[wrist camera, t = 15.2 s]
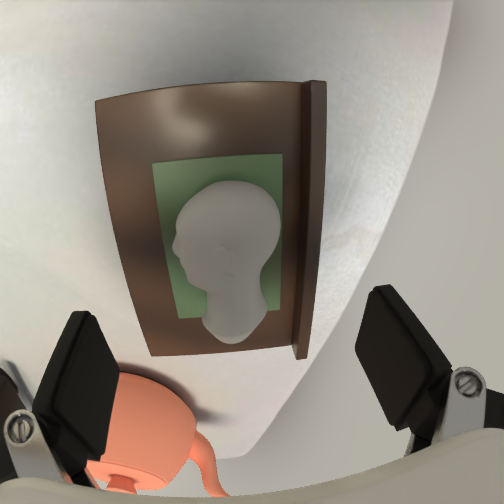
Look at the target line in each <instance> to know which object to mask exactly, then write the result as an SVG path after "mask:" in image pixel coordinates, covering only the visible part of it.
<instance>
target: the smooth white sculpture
mask: <svg viewBox="0 0 504 504" xmlns="http://www.w3.org/2000/svg"><path fill="white" fill-rule="evenodd" d="M280 228H281V222H280V214H279V211H278V208H277V205H276V203H275V201H274V200H273V198H272V197H271V196H270V195H269V193H267V192H266V191H265V190H264V189H262V188H261V187H259V186H257V185H255V184H252V183H248V182H243V181H220V182H216V183H213V184H211V185H209V186H207V187H206V188H204V189H203V190H201V191H200V192H198V193H197V194H195V195H194V196H193V197H192V198H191V199H190V200H189V201H188V202H187V203H186V204H185V205H184V207H183V208H182V210H181V211H180V213H179V215H178V218H177V221H176V232H177V233H176V236H175V239H174V242H173V245H172V249H173V252H174V253H175V255H177V256H178V257H179V258H180V263H181V265H182V267H183V268H184V270H185V273H186V275H187V280H188V281H189V283H190V284H192V285H194V286H195V287H198V288H200V289H202V290H205V291H207V306H208V308H207V309H206V310H205V312H204V314H203V316H202V322H203V325H204V326H205V328H206V329H207V330H208V331H209V332H211V333H212V334H213V335H214V336H215V337H216V338H217V339H218V340H220V341H222V342H224V343H227V344H235V343H239V342H241V341H243V340H244V339H246V338H247V337H248V336H249V335H250V334H251V333H252V332H253V330H254V329H255V328H256V327H257V326H258V325H259V323H260V322H261V321H262V320H263V318H264V317H265V315H266V312H267V303H266V300H265V298H264V297H263V295H262V292H261V287H260V272H261V269H262V267H263V265H264V264H265V263H266V261H267V260H268V259H269V257H270V256H271V254H272V253H273V251H274V249H275V247H276V245H277V242H278V239H279V235H280Z"/></svg>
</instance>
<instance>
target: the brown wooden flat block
mask: <svg viewBox="0 0 504 504" xmlns="http://www.w3.org/2000/svg"><path fill="white" fill-rule="evenodd" d="M95 112H96V124H97V133H98V142H99V150H100V158H101V165H102V171H103V178H104V184H105V190H106V195H107V201H108V206H109V211H110V216H111V220H112V225H113V230H114V234H115V238H116V243H117V247H118V251H119V255H120V259H121V263H122V267H123V270H124V274H125V278H126V281H127V285H128V288H129V292H130V295H131V298H132V301H133V305H134V308H135V311H136V314H137V317H138V320H139V323H140V326H141V329H142V332H143V335H144V338H145V341H146V343H147V346H148V349H149V352H150V354H151V356H179V355H198V354H212V353H225V352H236V351H246V350H256V349H264V348H273V347H280V346H288V345H292V348H293V351H294V355H295V358H296V360H300V359H306V358H307V354H308V348H309V341H310V333H311V326H312V318H313V311H314V302H315V294H316V285H317V275H318V266H319V255H320V244H321V232H322V218H323V203H324V185H325V163H326V126H327V83H326V81H319V80H309V81H305V82H286V81H239V82H218V83H204V84H192V85H183V86H174V87H166V88H159V89H152V90H146V91H140V92H135V93H129V94H124V95H119V96H114V97H110V98H105V99H101V100H97V101H95ZM220 181H243V182H248V183H252V184H255V185H257V186H259V187H261V188H262V189H264V190H265V191H266V192H267V193H269V195H270V196H271V197H272V198H273V200H274V201H275V203H276V205H277V208H278V211H279V214H280V222H281V228H280V235H279V239H278V242H277V245H276V247H275V249H274V251H273V253H272V254H271V256H270V257H269V259H268V260H267V261H266V263H265V264H264V265H263V267H262V269H261V272H260V287H261V292H262V295H263V297H264V298H265V300H266V303H267V312H266V315H265V317H264V318H263V320H262V321H261V322H260V323H259V325H258V326H257V327H256V328H255V329H254V330H253V332H252V333H251V334H250V335H249V336H248V337H247V338H246V339H244V340H243V341H241V342H239V343H235V344H227V343H224V342H222V341H220V340H218V339H217V338H216V337H215V336H214V335H213V334H212V333H211V332H209V331H208V330H207V329H206V328H205V326H204V325H203V322H202V316H203V314H204V312H205V310H206V309H207V308H208V306H207V291H205V290H202V289H200V288H198V287H195V286H194V285H192V284H190V283H189V281H188V280H187V275H186V273H185V270H184V268H183V267H182V265H181V263H180V258H179V257H178V256H177V255H175V253H174V252H173V249H172V245H173V242H174V239H175V236H176V233H177V232H176V221H177V218H178V215H179V213H180V211H181V210H182V208H183V207H184V205H185V204H186V203H187V202H188V201H189V200H190V199H191V198H192V197H193V196H194V195H195V194H197V193H198V192H200V191H201V190H203V189H204V188H206V187H207V186H209V185H211V184H213V183H216V182H220Z"/></svg>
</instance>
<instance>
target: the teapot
mask: <svg viewBox="0 0 504 504" xmlns="http://www.w3.org/2000/svg"><path fill="white" fill-rule="evenodd" d="M188 458H190V459H191V460H193V461H194V462H195V463H196V464H197V465H198V466H199V468H200V470H201V474H202V480H203V484H204V487H205V489H206V491H207V492H208V493H209V494H210V495H211V496H212V497H230V495H228V494H227V493H226V492H225V491H224V490H223V488H222V487H221V485H220V483H219V480H218V475H217V467H216V459H215V454H214V451H213V448H212V446H211V444H210V442H209V441H208V440H207V439H206V438H205V437H204V436H203V435H202V434H200V433H199V432H198V431H196V420H195V417H194V415H193V413H192V411H191V410H190V409H189V407H188V406H187V405H186V404H185V403H184V402H183V401H182V400H181V399H180V398H179V397H178V396H177V395H175V394H174V393H173V392H172V391H171V390H169V389H168V388H166V387H165V386H163V385H161V384H159V383H157V382H155V381H152V380H150V379H147V378H144V377H141V376H137V375H134V374H129V373H123V372H120V375H119V380H118V385H117V389H116V394H115V399H114V404H113V409H112V415H111V420H110V426H109V432H108V438H107V444H106V450H105V453H104V455H101V459H100V462H97V461H92V460H87V466H86V467H87V469H88V470H89V472H90V473H91V475H92V477H94V478H97V479H99V480H101V481H104V482H106V483H108V485H107V488H106V489H107V490H108V491H114V492H122V493H129V494H137V493H136V489H137V490H157V489H161V488H163V487H165V486H167V485H168V484H169V482H170V481H172V480H173V478H174V477H175V476H176V474H177V473H178V472H179V471H180V469H181V468H182V466H183V465H184V464H185V462H186V461H187V459H188Z"/></svg>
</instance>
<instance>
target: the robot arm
mask: <svg viewBox="0 0 504 504" xmlns="http://www.w3.org/2000/svg"><path fill="white" fill-rule="evenodd" d="M355 352H356V355H357V357H358V358H359V361H360V363H361V365H362V367H363V369H364V371H365V373H366V375H367V377H368V379H369V381H370V383H371V386H372V388H373V389H374V392H375V394H376V396H377V398H378V400H379V403H380V405H381V407H382V409H383V411H384V413H385V415H386V418H387V420H388V422H389V424H390V425H392V426H393V425H394V427H395V429H396V431H399V430H402V429H405V428H407V427H409V428H410V430H411V432H412V434H411V437H410V440H409V443H408V446H407V449H406V452H405V455H404V457H403V458H400V459H398V460H395V461H392V462H389V463H387V464H384V465H381V466H378V467H376V468H373V469H370V470H367V471H364V472H361V473H357V474H354V475H350V476H347V477H344V478H340V479H336V480H332V481H328V482H324V483H319V484H315V485H310V486H306V487H301V488H295V489H290V490H284V491H277V492H270V493H263V494H254V495H244V496H230V497H209V498H208V497H206V498H182V497H160V496H148V495H137V494H129V493H122V492H114V491H108V490H102V489H100V487H99V486H98V484H97V483H96V481H95V480H94V478H93V477H92V475H91V473H90V472H89V470H88V469H87V467H86V466H87V460H92V461H97V462H100V459H101V455H104V453H105V450H106V444H107V438H108V432H109V426H110V420H111V415H112V409H113V404H114V399H115V394H116V389H117V385H118V380H119V375H120V371H119V367H118V364H117V362H116V360H115V358H114V356H113V354H112V352H111V350H110V348H109V346H108V344H107V342H106V340H105V337H104V335H103V333H102V331H101V329H100V326H99V324H98V322H97V319H96V317H95V316H94V315H91V313H90V312H89V311H74V312H72V314H71V316H70V318H69V320H68V322H67V324H66V326H65V328H64V330H63V332H62V334H61V336H60V338H59V341H58V343H57V345H56V347H55V349H54V352H53V354H52V356H51V359H50V361H49V363H48V366H47V368H46V370H45V373H44V375H43V378H42V380H41V383H40V386H39V388H38V391H37V393H36V396H35V399H34V402H33V405H32V407H33V409H32V412H30V411H28V410H25V409H23V410H17V411H14V412H13V413H12V414H10V416H9V417H8V418H7V420H6V422H5V424H4V437H2V438H1V439H0V504H504V394H502V393H499V392H496V391H493V390H490V389H487V388H486V382H485V380H484V378H483V376H482V375H481V374H480V373H479V372H478V371H477V370H475V369H473V368H471V367H460V368H458V369H456V370H455V371H454V372H453V370H452V369H451V367H452V365H451V364H450V362H449V361H448V359H447V358H446V356H445V355H444V354H443V352H442V351H441V349H440V348H439V347H438V345H437V344H436V342H435V341H434V340H433V338H432V337H431V335H430V334H429V333H428V332H427V330H426V329H425V327H424V326H423V325H422V323H421V322H420V321H419V319H418V318H417V317H416V315H415V314H414V313H413V312H412V310H411V309H410V308H409V306H408V305H407V304H406V303H405V301H404V300H403V299H402V298H401V296H400V295H399V294H398V293H397V291H396V290H395V289H394V288H393V286H391V285H390V284H388V285H381V286H376V287H374V288H373V291H371V292H370V293H369V295H368V299H367V303H366V308H365V311H364V315H363V319H362V323H361V326H360V330H359V333H358V337H357V340H356V344H355Z"/></svg>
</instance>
